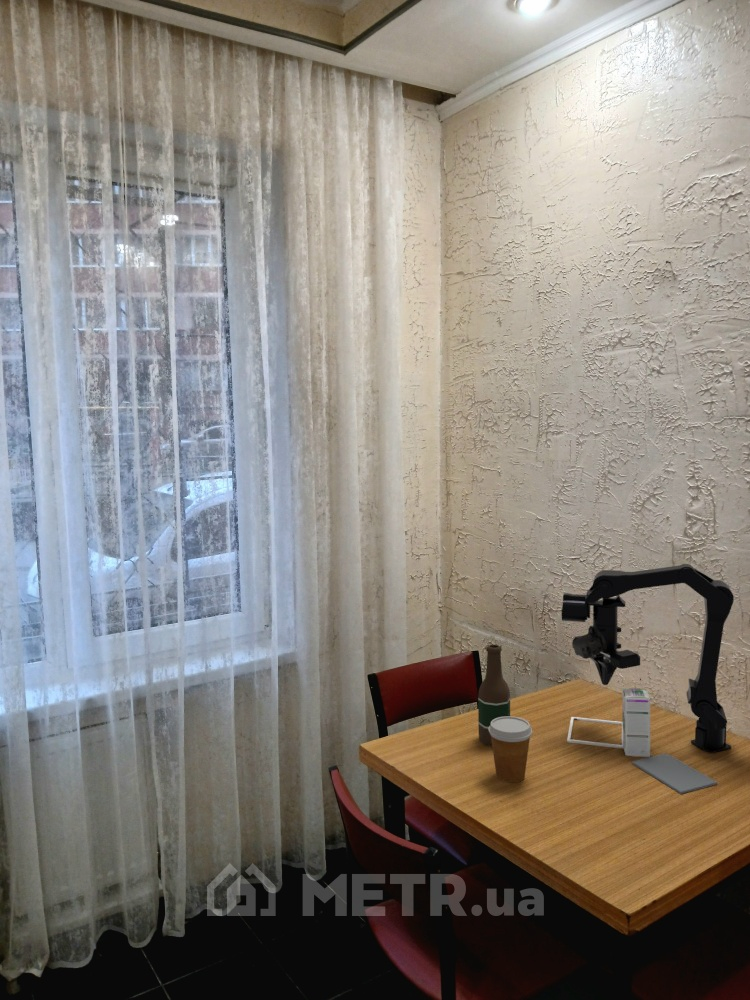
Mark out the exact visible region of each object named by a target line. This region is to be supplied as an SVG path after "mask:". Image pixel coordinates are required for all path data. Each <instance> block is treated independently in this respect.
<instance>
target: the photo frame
mask: <svg viewBox="0 0 750 1000" xmlns="http://www.w3.org/2000/svg"><path fill="white" fill-rule="evenodd" d="M574 720H577V721H582V722H590V723H600V724H601V723H602V724H611V725H612V724H613V725H619V726H621V744H617V743H615V744H614V743H607V742H597V741H588V740H579V739H571V737H572V730H573V724H574ZM566 743H571V744H572V743H573V744H579V745H580V744H581V745H590V746H598V747H607V748H616V749H623V721H615V720H608V719H607V720H606V719H596V718H586V717H579V716H578V717H575V716H570V721H569V727H568V734H567V739H566Z"/></svg>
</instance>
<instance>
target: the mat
mask: <svg viewBox="0 0 750 1000" xmlns="http://www.w3.org/2000/svg"><path fill="white" fill-rule="evenodd" d="M631 764H632V765H633V766H635V767H637V768H638V769H640V770H641V771H643V772H644V773H646V774H648V775H649V776H651V777H652V778H654V779H656V780H658V782H661V783H662V784H664V785H665V786H667V787H669V788H670V789H672V790H674V791H675V792H677V793H678V794H680V795H682V794H687V793H691V792H694V791H698V790H702V789H704V788H709V787H712V786H716V785H718V781H716V780H715V779H713V778H711V777H709V776H707V775H706V774H704V773H702V772H700V771H698V770H696V769H695V768H693V767H692V766H690V765H688V764H686V763H684V762H683V761H681V760H679V759H677V758H676V757H674V756H673V755H670V754H668V753H667V752H665V753H662V754H657V755H654V756H650V757H644V758H641V759H637V760H633V761H631Z"/></svg>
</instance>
